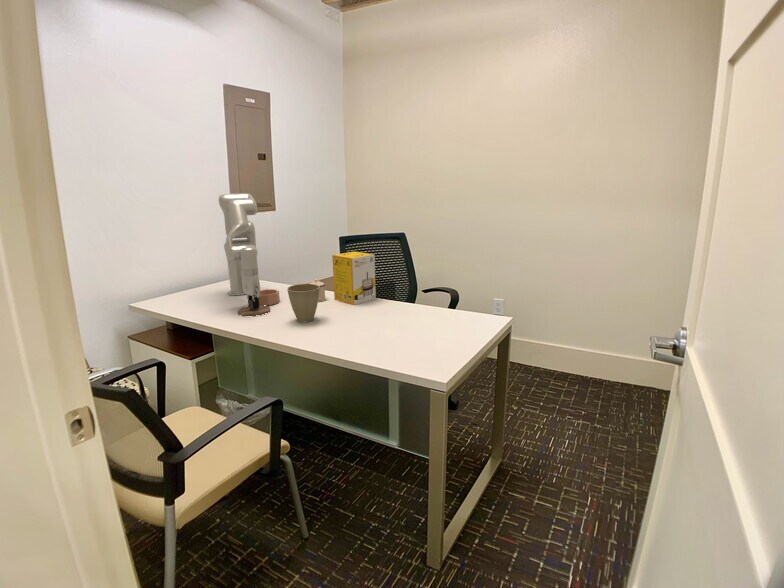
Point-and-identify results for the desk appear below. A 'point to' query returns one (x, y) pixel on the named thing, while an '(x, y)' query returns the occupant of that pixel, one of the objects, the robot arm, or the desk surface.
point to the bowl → (269, 297)
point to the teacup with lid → (321, 290)
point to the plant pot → (304, 300)
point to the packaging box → (354, 277)
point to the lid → (253, 310)
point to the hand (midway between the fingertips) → (253, 307)
